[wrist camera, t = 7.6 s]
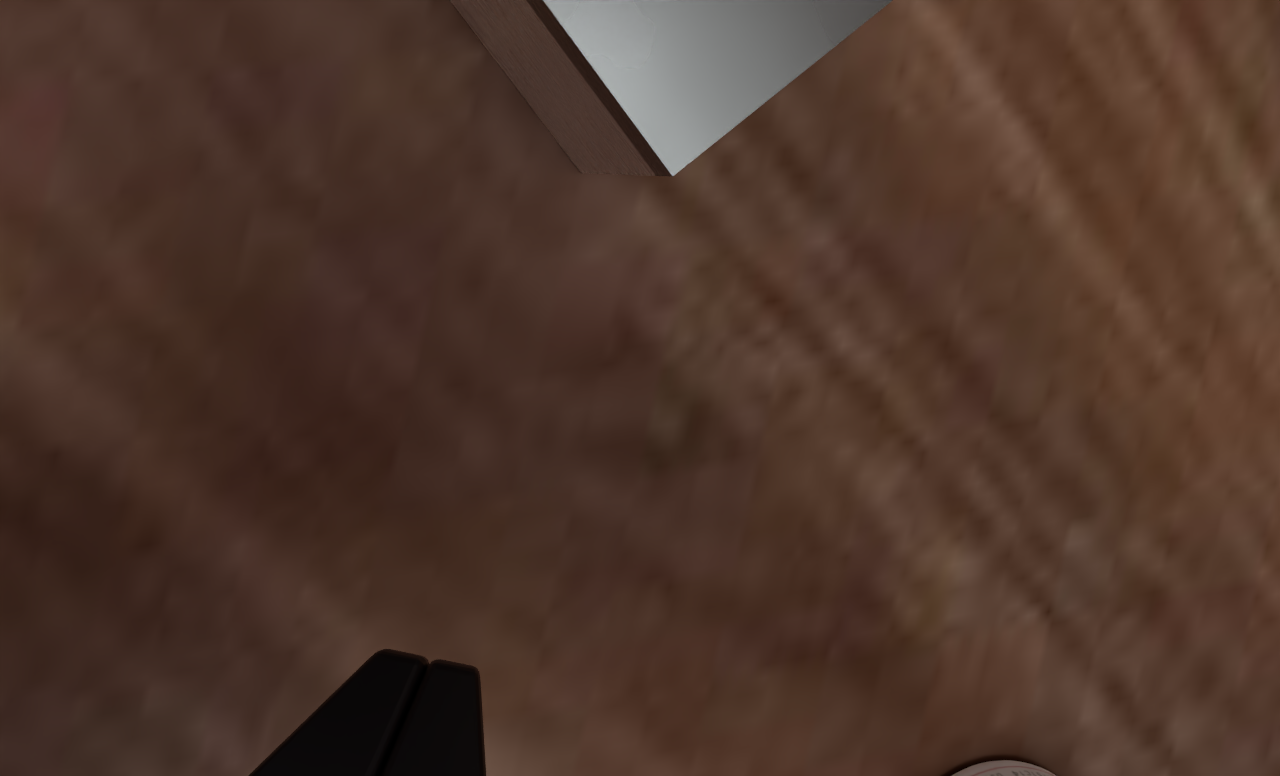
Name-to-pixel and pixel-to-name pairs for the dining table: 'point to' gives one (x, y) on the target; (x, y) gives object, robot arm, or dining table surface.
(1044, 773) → the pill bottle
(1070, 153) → the dining table surface
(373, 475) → the dining table surface
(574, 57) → the collar
